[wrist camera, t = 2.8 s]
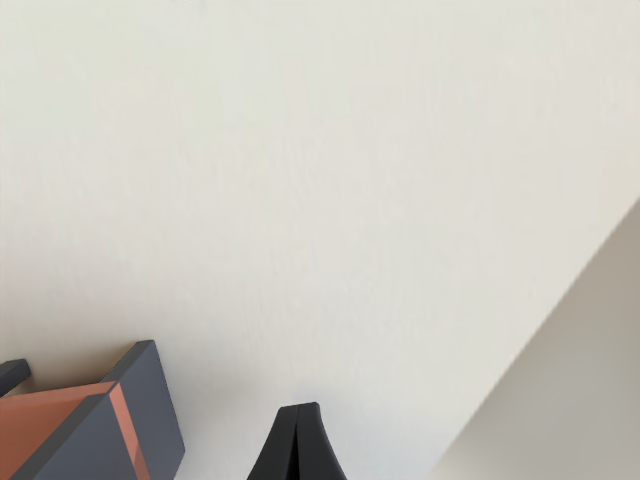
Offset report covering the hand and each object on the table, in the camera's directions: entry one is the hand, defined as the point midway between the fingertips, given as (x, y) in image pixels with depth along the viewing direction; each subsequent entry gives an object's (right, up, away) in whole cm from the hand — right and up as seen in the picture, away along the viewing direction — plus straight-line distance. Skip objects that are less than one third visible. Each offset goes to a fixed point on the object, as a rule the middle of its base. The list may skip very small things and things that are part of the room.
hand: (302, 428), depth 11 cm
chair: (-9, -1, +3) cm, 9 cm away
